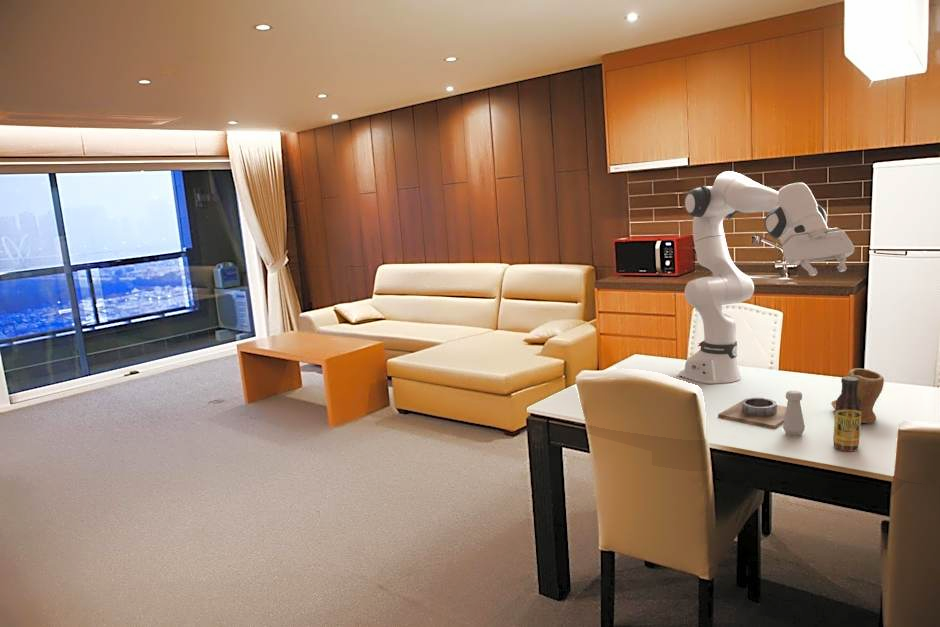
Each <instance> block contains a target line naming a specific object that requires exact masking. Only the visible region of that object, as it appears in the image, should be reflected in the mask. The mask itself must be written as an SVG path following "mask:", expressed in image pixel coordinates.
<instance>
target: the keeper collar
mask: <svg viewBox="0 0 940 627" xmlns="http://www.w3.org/2000/svg"><path fill="white" fill-rule="evenodd" d="M777 405H778V404H777V401H775V400H773V399H770V398H764V397H750V398H744V399H743V400H742V413H744V414H746V415H748V416H753V417H770V416H774V415H775V414H777Z"/></svg>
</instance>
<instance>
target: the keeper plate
mask: <svg viewBox="0 0 940 627" xmlns="http://www.w3.org/2000/svg"><path fill="white" fill-rule="evenodd" d="M742 401H743V400H742ZM742 401H740V402H738V403H736V404H734V405H732V406H731V407H729V408H727V409H725V410H723V411H721V412H720V413H718V418H720V417H721V418H720V419H725V418H726V419H725V420H731V421H736V422H741V423H745V424H750V425H755V426H758V427H764V428H768V429H769V428H770V429H773V430H775V429H777V428H778V427H780V426H783V423H784V418H785V413H786V408H787V406H786V405H785V406H784V405H779V404H777V414H775V415H774V416H770V417H753V416H748V415H746V414H744V413H742Z"/></svg>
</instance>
